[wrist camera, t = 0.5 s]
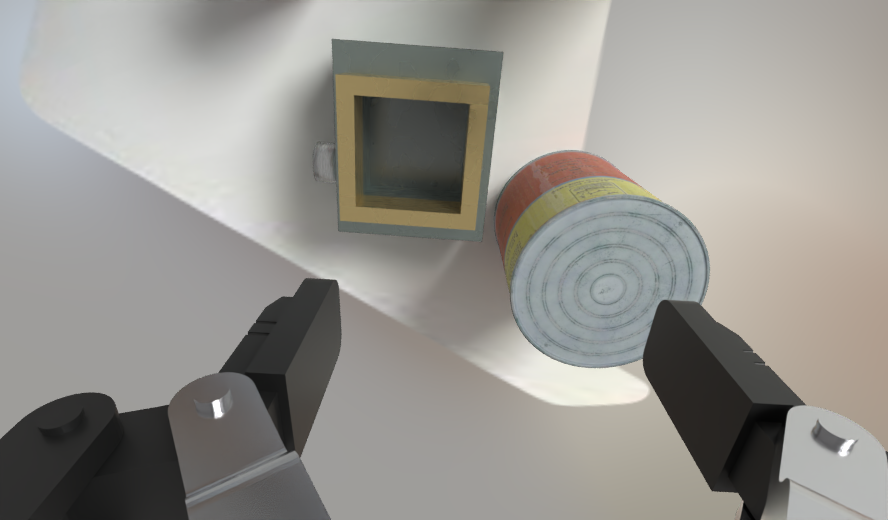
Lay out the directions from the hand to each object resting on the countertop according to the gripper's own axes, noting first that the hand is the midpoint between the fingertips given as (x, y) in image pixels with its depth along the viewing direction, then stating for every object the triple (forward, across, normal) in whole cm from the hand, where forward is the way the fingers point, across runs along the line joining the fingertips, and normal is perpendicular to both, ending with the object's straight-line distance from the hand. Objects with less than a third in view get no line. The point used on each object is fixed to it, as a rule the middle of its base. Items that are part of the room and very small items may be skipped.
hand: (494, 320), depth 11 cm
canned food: (+25, -8, +6) cm, 27 cm away
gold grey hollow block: (+25, +5, 0) cm, 26 cm away
